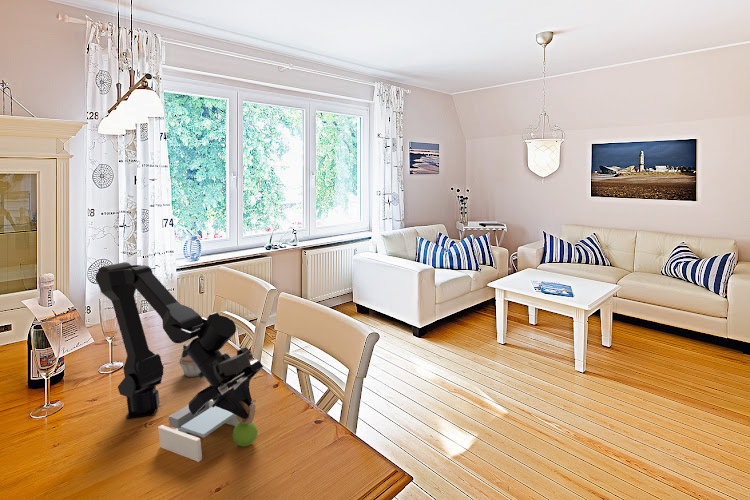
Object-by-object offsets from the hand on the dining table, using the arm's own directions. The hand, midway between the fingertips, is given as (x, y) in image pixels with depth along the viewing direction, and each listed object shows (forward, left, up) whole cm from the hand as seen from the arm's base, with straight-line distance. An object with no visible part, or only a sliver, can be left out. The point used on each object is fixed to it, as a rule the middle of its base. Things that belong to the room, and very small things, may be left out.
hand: (250, 415), depth 97 cm
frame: (-11, +7, -8) cm, 15 cm away
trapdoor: (-11, +7, -4) cm, 13 cm away
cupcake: (-18, +43, -8) cm, 47 cm away
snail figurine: (-1, +1, -8) cm, 8 cm away
